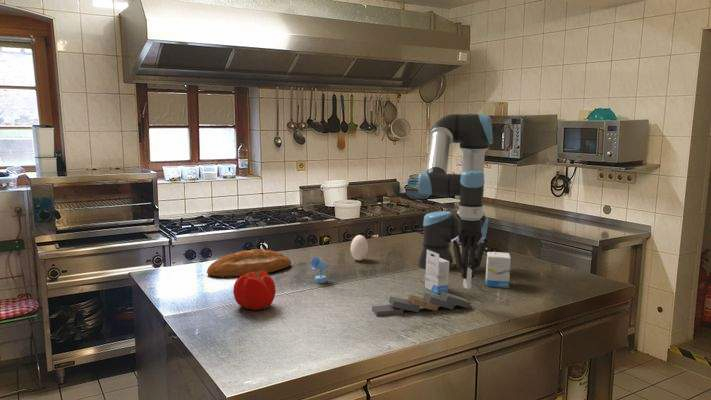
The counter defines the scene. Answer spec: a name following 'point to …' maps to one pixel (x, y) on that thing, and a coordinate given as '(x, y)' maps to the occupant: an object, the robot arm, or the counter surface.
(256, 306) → the tomato
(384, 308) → the domino
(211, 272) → the bread
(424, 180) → the robot arm
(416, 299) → the walnut domino
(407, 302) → the domino
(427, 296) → the domino
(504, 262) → the ink box
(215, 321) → the counter surface
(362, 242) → the egg
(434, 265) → the ink box
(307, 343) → the counter surface
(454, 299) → the domino
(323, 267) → the spotlight
